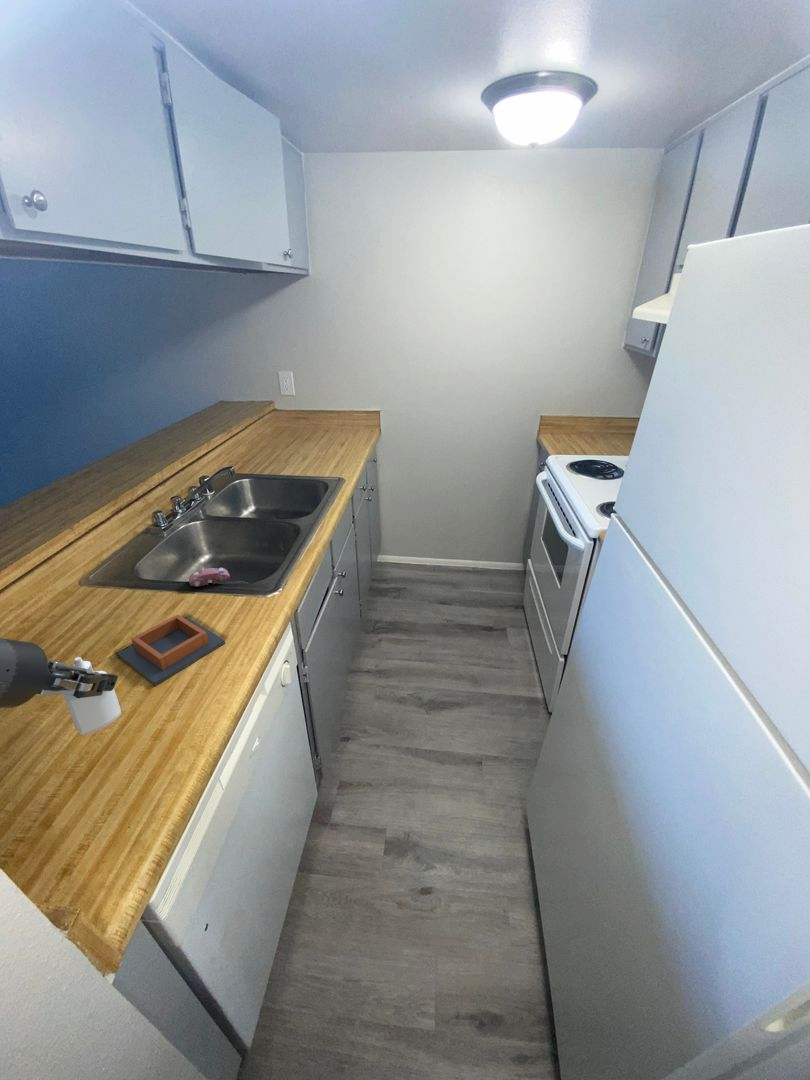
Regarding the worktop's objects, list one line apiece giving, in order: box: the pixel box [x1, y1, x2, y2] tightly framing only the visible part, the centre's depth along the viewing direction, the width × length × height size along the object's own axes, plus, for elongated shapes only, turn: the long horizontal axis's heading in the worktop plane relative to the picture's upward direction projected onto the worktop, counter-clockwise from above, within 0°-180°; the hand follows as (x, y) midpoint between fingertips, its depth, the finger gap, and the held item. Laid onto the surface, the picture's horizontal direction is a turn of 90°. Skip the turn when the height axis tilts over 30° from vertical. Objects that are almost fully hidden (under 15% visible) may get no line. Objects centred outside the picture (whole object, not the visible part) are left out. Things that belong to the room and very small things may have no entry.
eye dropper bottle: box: [62, 656, 122, 736], centre depth 66 cm, size 4×6×12 cm
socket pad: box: [116, 614, 226, 687], centre depth 100 cm, size 16×14×4 cm
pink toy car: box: [188, 567, 231, 588], centre depth 121 cm, size 10×5×7 cm, turn 114°
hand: (99, 679), depth 68 cm, fingers closed on eye dropper bottle, 4 cm apart
